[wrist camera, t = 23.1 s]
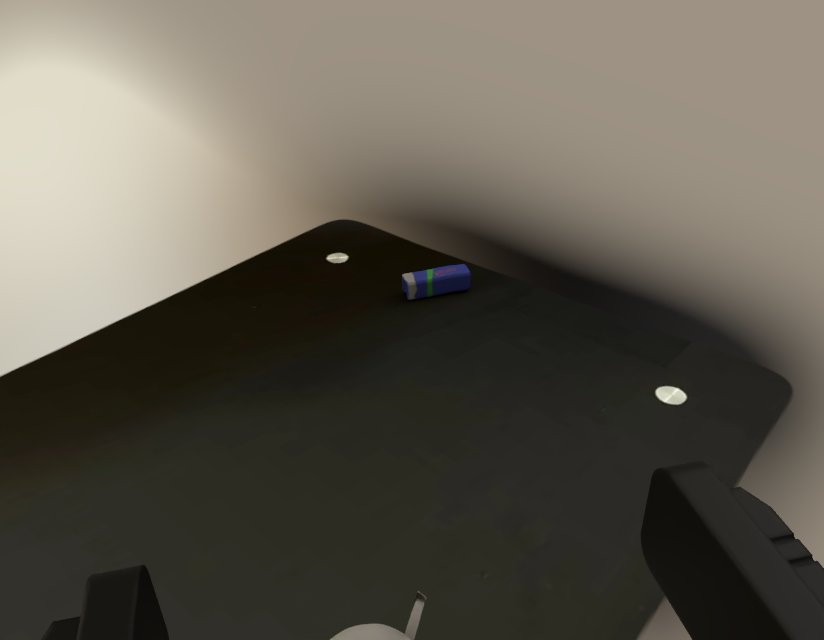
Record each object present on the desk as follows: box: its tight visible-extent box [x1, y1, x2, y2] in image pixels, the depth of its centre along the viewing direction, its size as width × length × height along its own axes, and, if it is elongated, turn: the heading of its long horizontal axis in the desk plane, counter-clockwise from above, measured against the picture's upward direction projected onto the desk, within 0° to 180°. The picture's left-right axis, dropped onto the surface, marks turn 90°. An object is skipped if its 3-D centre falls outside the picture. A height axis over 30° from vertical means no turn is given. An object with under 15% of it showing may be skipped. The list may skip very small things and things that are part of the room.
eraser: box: [402, 264, 471, 300], centre depth 68 cm, size 2×6×2 cm, turn 105°
